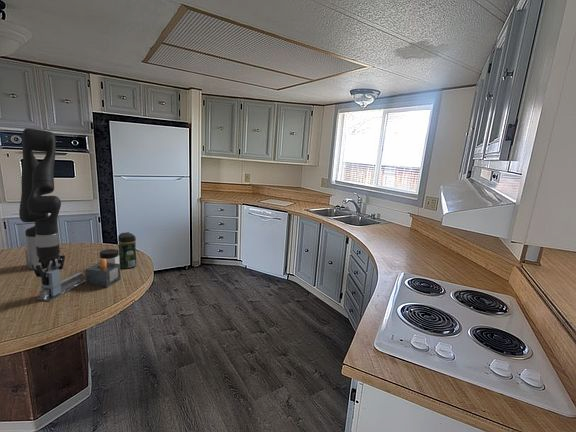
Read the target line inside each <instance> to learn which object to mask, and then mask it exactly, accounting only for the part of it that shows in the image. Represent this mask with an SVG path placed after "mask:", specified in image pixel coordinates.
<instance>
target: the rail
mask: <svg viewBox="0 0 576 432" xmlns="http://www.w3.org/2000/svg"><path fill="white" fill-rule="evenodd" d="M84 283H85V284H86V279H84V273H83V272H80V271H78V272H77V273H75V274H73V275H71V276H69V277H67V278H64V279H62V280H61V293H59V294H57V295H55V296H51V289H49V288H46V289H44V290H42V289H41V290H40V291H39V296H38V297H36V298H35V300H36V301H43V302H51V301H53V300H55V299H57V298H58V297H60V296H62V295H65V294H67V293H68V292H70V291H73V289H75V288H78V287H79V286H81V285H82V284H84Z"/></svg>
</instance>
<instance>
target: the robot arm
mask: <svg viewBox="0 0 576 432" xmlns="http://www.w3.org/2000/svg"><path fill="white" fill-rule="evenodd" d="M21 137H22V138H21V143H22V145H21V146H22V149H21V150H22V168H21V197H20V202H19V209H18V211H19V214H18V216H19V219H20V221H21V222H23V223H34V225H33V226H31V227H28V228H26V230H25V232H24V233H25V234H24V235H25V241H26V243H25V244H26V249H25V250H24V251H25V260H26V261H25V262H26V268H28V269H30V270H33V272H34V274H35V276H36V277H37V278H41V277H42V284H43V285H49V277H48V275H49V271H50V270H51V269H58V270H60V271H61V270H63V269H64V264H65V259H66V256H65V255H63V254H61V249H60V246H61V245H60V237H59V233H58V217H59V214H60V210H61V206H62V201H61V199H60V198H59V197H58V196H56V195H48V194H52V193H53V192H54V191H55V181H54V180H55V179H54V178H55V177H54V172H55V171H54V170H55V163H56V161H55V160H56V147H57V141H56V136H55V133H54V132H52V131H49V130H48V131H47V130H42V129H35V128H26V127H25V128H24V129H23V131H22V135H21ZM33 152H43V153H46V154H45V156H44V158H43V159H42V160H41V161H40V162H39V161H38V160H37V158H36V157H35V155H34V153H33ZM49 214H50V215H49ZM44 272H45V274H44Z"/></svg>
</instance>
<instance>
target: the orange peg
mask: <svg viewBox="0 0 576 432" xmlns="http://www.w3.org/2000/svg"><path fill="white" fill-rule="evenodd" d="M99 261H100V268H106V267H107V261H106V259H100V260H99V259H98V262H99Z"/></svg>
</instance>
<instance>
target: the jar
mask: <svg viewBox="0 0 576 432" xmlns="http://www.w3.org/2000/svg"><path fill="white" fill-rule="evenodd" d="M100 259H106V261H107V263H115V264H120V261H119V249H114V248H109V249H108V248H107V249H103V250H100V251H99V257H98V263H100V261H99V260H100Z"/></svg>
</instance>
